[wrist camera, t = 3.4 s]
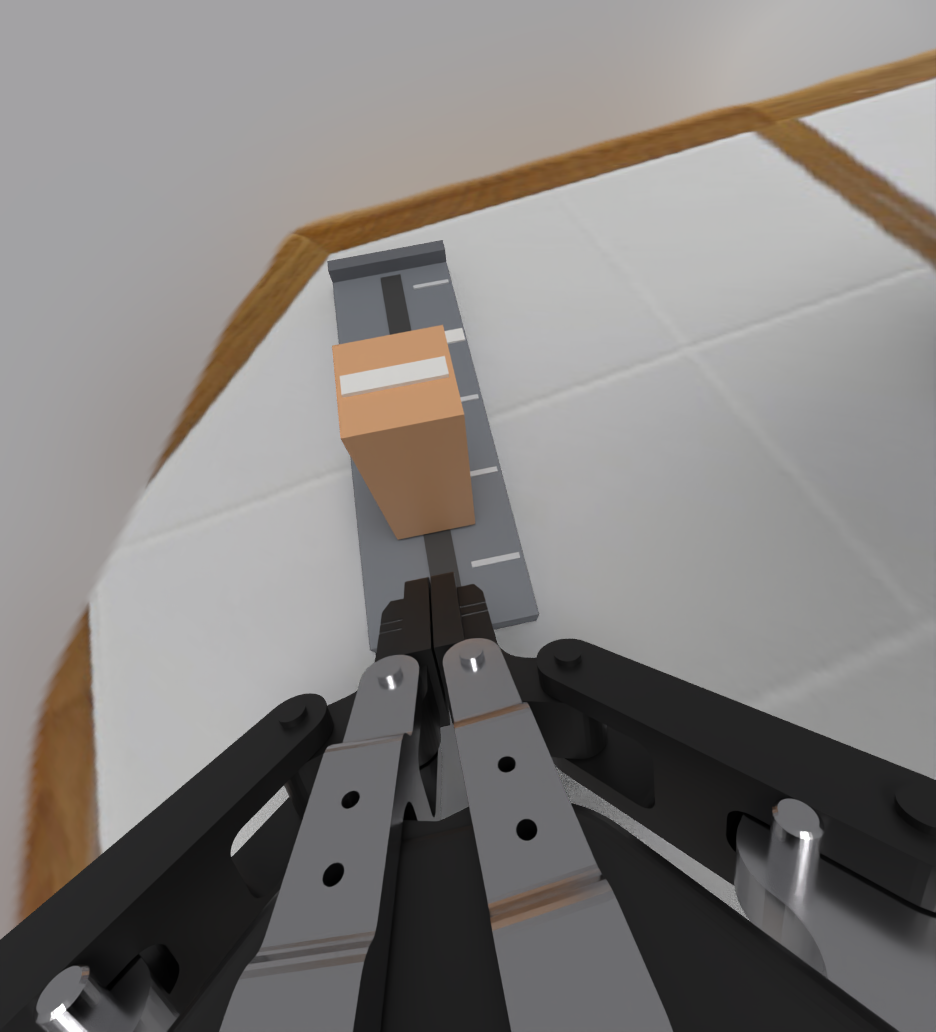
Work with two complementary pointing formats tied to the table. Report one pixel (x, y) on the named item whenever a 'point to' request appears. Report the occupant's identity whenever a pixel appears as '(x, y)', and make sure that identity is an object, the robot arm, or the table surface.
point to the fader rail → (493, 538)
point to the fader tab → (406, 429)
